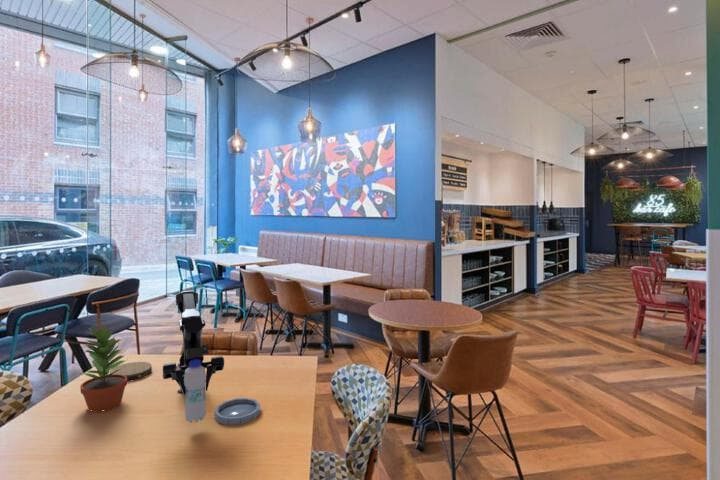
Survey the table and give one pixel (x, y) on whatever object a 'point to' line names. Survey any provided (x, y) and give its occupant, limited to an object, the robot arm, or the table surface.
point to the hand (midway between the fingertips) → (195, 392)
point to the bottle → (195, 391)
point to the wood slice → (133, 370)
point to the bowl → (237, 411)
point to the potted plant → (103, 374)
